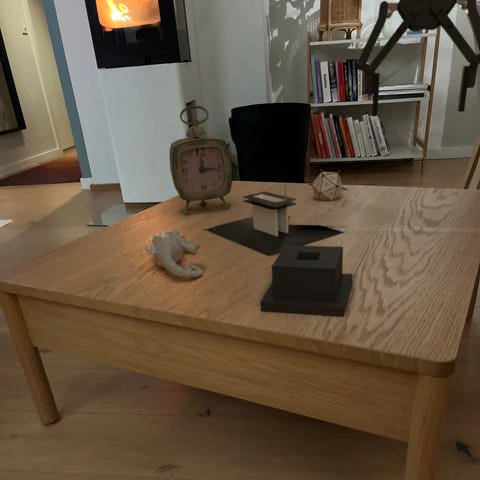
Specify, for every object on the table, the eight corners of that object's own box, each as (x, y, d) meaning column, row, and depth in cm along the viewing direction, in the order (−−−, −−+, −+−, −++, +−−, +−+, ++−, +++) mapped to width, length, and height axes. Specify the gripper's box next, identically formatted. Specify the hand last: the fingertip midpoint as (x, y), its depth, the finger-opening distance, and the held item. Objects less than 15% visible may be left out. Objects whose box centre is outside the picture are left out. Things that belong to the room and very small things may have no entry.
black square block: (342, 276, 75) (343, 246, 72) (334, 301, 67) (335, 268, 65) (286, 274, 77) (285, 245, 75) (273, 297, 70) (271, 266, 67)
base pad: (352, 282, 76) (353, 249, 74) (343, 316, 66) (344, 280, 64) (279, 278, 80) (277, 247, 77) (260, 311, 70) (258, 276, 67)
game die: (320, 215, 124) (308, 181, 125) (352, 202, 122) (339, 167, 123) (315, 207, 116) (301, 170, 117) (349, 192, 113) (335, 155, 114)
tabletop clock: (179, 217, 119) (164, 109, 108) (175, 209, 127) (160, 107, 116) (235, 209, 122) (226, 103, 110) (228, 202, 130) (218, 101, 118)
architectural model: (272, 211, 118) (270, 170, 113) (344, 232, 99) (345, 184, 94) (203, 229, 109) (198, 185, 104) (268, 255, 90) (266, 204, 85)
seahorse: (228, 265, 84) (185, 224, 98) (169, 259, 78) (132, 217, 92) (220, 291, 86) (179, 247, 101) (161, 287, 80) (127, 241, 94)
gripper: (341, -34, 71) (338, 119, 80) (531, -63, 63) (503, 110, 73) (346, -27, 77) (343, 115, 87) (520, -52, 69) (495, 106, 79)
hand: (416, 113), depth 80 cm, fingers open, 13 cm apart
